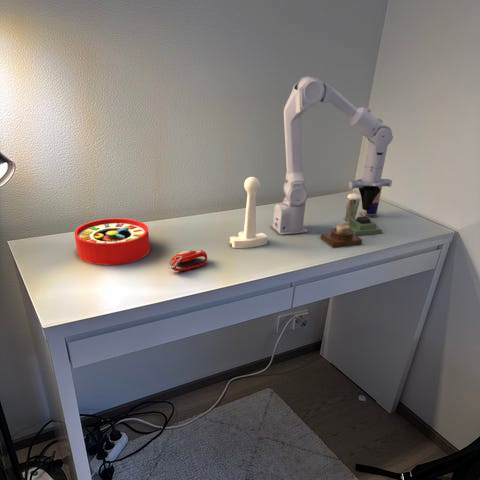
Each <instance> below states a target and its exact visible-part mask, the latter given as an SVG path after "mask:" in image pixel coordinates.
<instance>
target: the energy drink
mask: <svg viewBox="0 0 480 480" xmlns="http://www.w3.org/2000/svg"><path fill="white" fill-rule="evenodd" d="M378 188H380V189H381V190H380V193H379V194H378V195H377V196H376V198H375V199H374V201H373V203H372V204H371V207H370V209H369V210H366V211H365V210H364V209H362V208H361V211H360V212H361V213H360V214H361V216H362V217H364V216H366V217H368V218H375V217H376V216H377V214H378V209H379V204H380V201H381V200H380V199H381V194H382V189H383V186H380V187H378Z"/></svg>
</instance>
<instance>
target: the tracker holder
mask: <svg viewBox="0 0 480 480" xmlns="http://www.w3.org/2000/svg"><path fill="white" fill-rule="evenodd" d="M202 257H204V260H203V261H202V262H199V263H194V264H191V265H188V266H184V267H180V268H178V267H177V266H180V265H181V263H185V262H189V261H192V260H194V259H197V258H202ZM170 260H171V261H170V262H169V266H168V269H171V270H172V271H176V272H177V271H178V272H180V271H181V272H182V271H189V270H193V269H195V268H199V267H202V266H204V265H205V264H206V263H207V260H208V254H207V253H206V251H205V250H202V249H198V250H193V249H188V250H183V251H180V252H177V253H176V254H175V255H174V256H172V257H171V259H170Z"/></svg>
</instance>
